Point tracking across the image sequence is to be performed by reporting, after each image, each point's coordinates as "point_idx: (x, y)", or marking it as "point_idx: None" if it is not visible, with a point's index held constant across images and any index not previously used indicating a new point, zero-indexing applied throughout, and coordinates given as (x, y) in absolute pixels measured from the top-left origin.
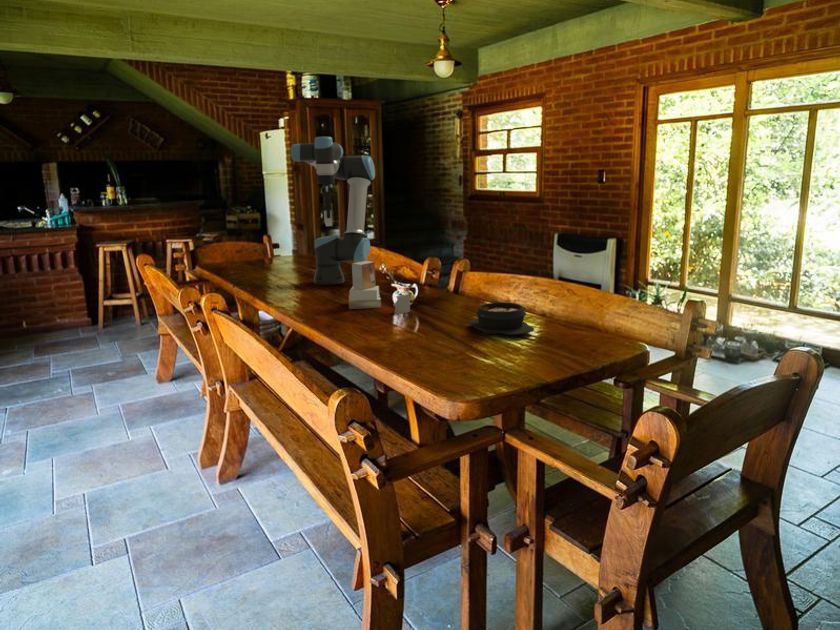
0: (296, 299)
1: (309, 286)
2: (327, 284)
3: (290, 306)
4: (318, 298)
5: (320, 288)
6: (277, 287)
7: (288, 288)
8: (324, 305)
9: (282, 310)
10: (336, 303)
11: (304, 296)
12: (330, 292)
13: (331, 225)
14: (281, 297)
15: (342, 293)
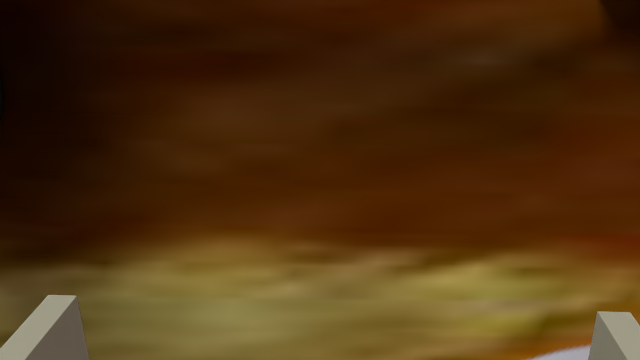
0: (375, 263)
1: (25, 193)
2: (1, 93)
3: (538, 291)
4: (387, 157)
5: (95, 136)
6: None
7: None
8: (590, 133)
9: None
10: (566, 66)
11: (308, 225)
12: (231, 84)
13: (632, 329)
14: (301, 326)
15: (280, 13)
